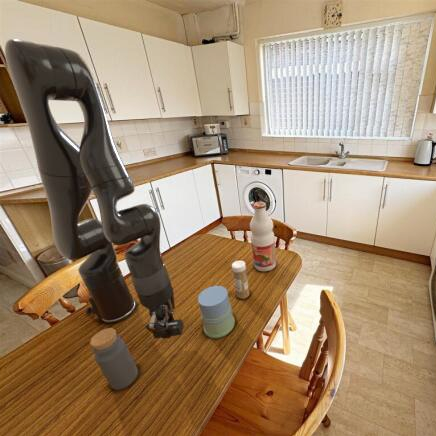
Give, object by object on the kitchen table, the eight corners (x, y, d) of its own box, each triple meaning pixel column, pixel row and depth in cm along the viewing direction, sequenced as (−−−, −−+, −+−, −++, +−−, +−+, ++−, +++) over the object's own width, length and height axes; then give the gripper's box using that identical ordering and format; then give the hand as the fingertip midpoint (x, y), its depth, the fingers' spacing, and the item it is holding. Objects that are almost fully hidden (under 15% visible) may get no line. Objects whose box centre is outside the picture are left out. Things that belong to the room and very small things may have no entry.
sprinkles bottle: (251, 295, 85) (247, 264, 79) (239, 301, 82) (234, 269, 77) (246, 288, 88) (242, 258, 82) (234, 293, 86) (229, 262, 80)
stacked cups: (201, 340, 69) (192, 309, 64) (206, 315, 77) (199, 286, 72) (233, 335, 70) (227, 304, 65) (235, 311, 78) (230, 282, 73)
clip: (154, 338, 65) (151, 330, 63) (158, 329, 67) (155, 321, 66) (181, 335, 66) (178, 326, 64) (184, 326, 68) (181, 317, 67)
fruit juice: (281, 265, 100) (277, 203, 88) (263, 275, 95) (256, 210, 83) (267, 256, 107) (262, 197, 95) (249, 265, 101) (241, 204, 89)
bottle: (133, 362, 64) (113, 321, 57) (142, 375, 60) (122, 334, 54) (107, 379, 60) (83, 338, 53) (115, 395, 56) (90, 353, 50)
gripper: (147, 267, 65) (163, 313, 72) (122, 306, 52) (145, 357, 59) (176, 264, 66) (189, 310, 73) (159, 302, 53) (176, 352, 60)
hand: (169, 331), depth 66 cm, fingers closed on clip, 3 cm apart
